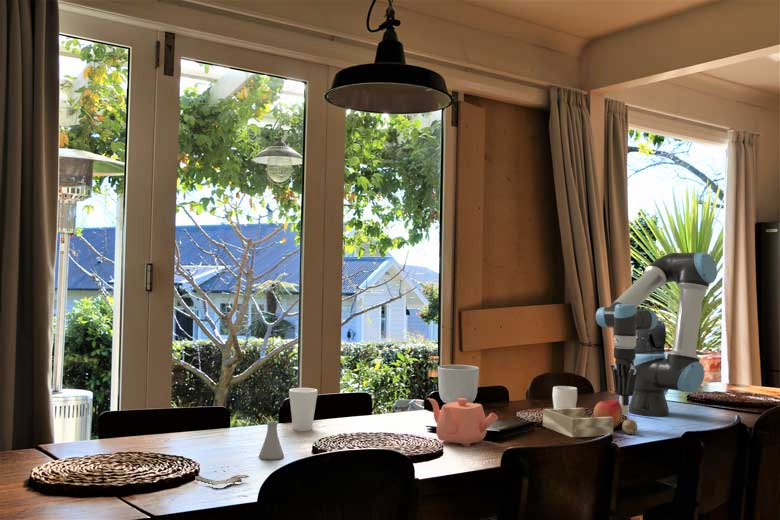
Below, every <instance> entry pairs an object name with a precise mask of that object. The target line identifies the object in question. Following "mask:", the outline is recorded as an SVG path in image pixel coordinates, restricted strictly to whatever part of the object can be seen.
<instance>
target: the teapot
mask: <svg viewBox="0 0 780 520" xmlns="http://www.w3.org/2000/svg"><path fill="white" fill-rule="evenodd" d="M426 400H428V401H429V402H430V403H431V406H432V409H433V410H432V411H433V418H434V422H435V423H436V431H435V433H436V436H437V438H438V440H440V441H443V444H452V443H455V444H461V446H462V447H471V444H478V443H480V442H481V441H483V439H485V437H486V434H487V431H488V430H487V429H488V428H489V427H491V425H493V424H494V423H496V421H497V420H498V419H499V418H498V415H497V414H496V413H495V412H491V413H490V414H489V415H488V416H487V417H486V414H485V412H484V407H483V405H482V404H481V403H476V402H475V403H474V402H472V403H467V400H468V399H465V398H458V399H457V401H458V402H452V403H447V404H446V403H444V404H443V405H442V406H441V409H440V406H439V403H438V402H437V400H435V399H434V398H430V397H427V398H426Z"/></svg>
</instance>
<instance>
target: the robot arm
mask: <svg viewBox="0 0 780 520" xmlns="http://www.w3.org/2000/svg"><path fill="white" fill-rule="evenodd" d="M717 275H718V268H717V263H716V261H715V259H714V258H713V256H712V254H709V253H706V252H696V251H695V252H671V253H667V254H664V255H662V256H659V258H657V259H656V260H654V261H653V262H651V263H650V264H649V265H648V266H646V267H645V269H644V271H643V274H642V275H641V276H640V277H638V279H636V280H635V281H634V282H633V284H631V285H630V286H629V287H628V288H627V289H626V290H624V292H623V293H622V294H621V295H620V296H619V297H618V298H617V299H616V300H614V301H613V302H612V303H611V304H610V306H602V307H599V308H598V309H597V310H596V312H595V320H596V323H597V324H598V326H600V327H603V328H609V329H611V328H612V329H613V330H614V331H613V334H614V335H613V336H614V337H613V346H614V348H613V358H614V359H615V363H614V364H611V365H610V369H611V372H612V373H611V374H612V378H613V379H612V380H613V387H614V393H616V394H617V395H618V402H619V403H620V405H621V408H622V416H623V415H624V416H625V415H629V413H631V414H634V415H635V414H636V415H640V416H646V417H647V416H648V417H664V416H668V415H669V414H670V409H669V405H668V402H667V399H666V398H667V397H666V395H665V390H672V391H676V392H681V393H694V392H696V391H697V390H698V389H699V388H700V387H701V386H702V384H703V382H704V378H705V368H704V367H705V366H704V365H703V364H702V363H701V362H700V359H701V358H700V357H699V356H698V355H697V348H698V347H697V346H698V340H699V330H700V325H701V316H702V308H703V302H704V300H703V299H704V293H705V292H706V291H708V290H709V288H710V284H712V283H714V282H715V281H716V279H717V277H718V276H717ZM667 283H676V286H677V287H678V289H679V295H678V303H677V312H676V319H675V328H674V334H673V343H672V349H671V350H670V351H669V352H668V353H667V356H666V355H665V354H661V353H660V354H642V355H636V354H637V353H636V352H637V351H636V347H637V331H648V330H649V331H650V330H653V329H655V328H656V327H657V325H658V322H659V318H658V315H657V313H656V312H655V311H654V310H651V309H648V308H646V309H645V308H643V309H641V308H640V309H639V308H638V307H640V306H641V304H643V303H644V302H645V301H646V300H647V299H648V298H649V297H650V296H651V295H652V294H653V293H654V292H655V291H656V290H657V289H658V288H662V287H664V286H665V285H666V284H667ZM630 397H631V398H630Z"/></svg>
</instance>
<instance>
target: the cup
mask: <svg viewBox="0 0 780 520" xmlns="http://www.w3.org/2000/svg"><path fill="white" fill-rule="evenodd" d="M551 395H552V405H553V409H560V408H577V401H578V388H577V387H575V386H570V385H569V386H567V385H555V386H553V387H552V393H551Z"/></svg>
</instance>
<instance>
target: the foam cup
mask: <svg viewBox="0 0 780 520" xmlns="http://www.w3.org/2000/svg"><path fill="white" fill-rule="evenodd" d="M288 397H289V403H290V412H291V413H290V414H291V422H292V430H294V431H299V432H301V431H302V432H305V431H310V430H313V425H314V417H315V410H316V405H317V398H318V389H316V388H312V387H311V388H310V387H294V388H290V389H289V390H288Z"/></svg>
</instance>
